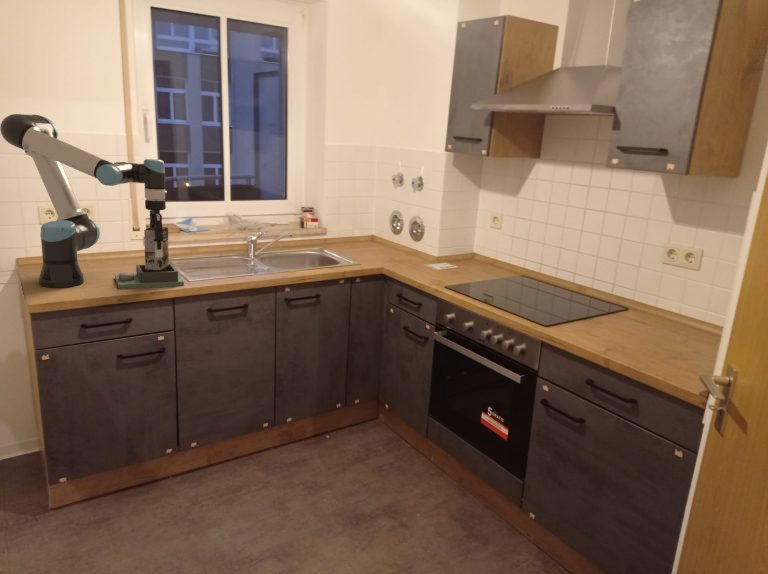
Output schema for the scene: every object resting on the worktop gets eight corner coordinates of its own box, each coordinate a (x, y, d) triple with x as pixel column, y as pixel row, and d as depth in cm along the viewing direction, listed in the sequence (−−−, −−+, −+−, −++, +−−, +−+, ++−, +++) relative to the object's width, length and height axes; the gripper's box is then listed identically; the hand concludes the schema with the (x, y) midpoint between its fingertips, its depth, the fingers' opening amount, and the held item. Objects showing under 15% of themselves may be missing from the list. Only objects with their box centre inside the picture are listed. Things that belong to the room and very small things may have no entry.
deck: (119, 288, 220) (118, 274, 218) (115, 278, 233) (114, 265, 232) (183, 285, 232) (183, 272, 230) (176, 275, 245) (176, 263, 244)
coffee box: (160, 270, 228) (159, 230, 224) (144, 269, 228) (143, 229, 224) (169, 265, 237) (168, 227, 233) (154, 264, 237) (153, 225, 233)
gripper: (170, 203, 218) (171, 260, 223) (160, 195, 237) (162, 248, 242) (149, 203, 214) (151, 260, 220) (141, 195, 233) (142, 248, 239)
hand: (156, 254), depth 231 cm, fingers closed on coffee box, 10 cm apart
